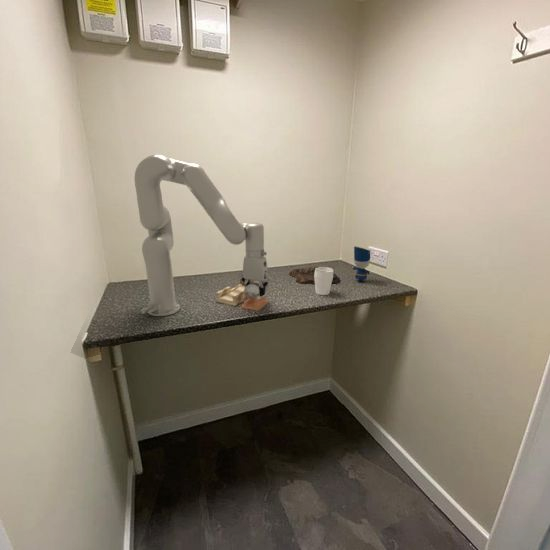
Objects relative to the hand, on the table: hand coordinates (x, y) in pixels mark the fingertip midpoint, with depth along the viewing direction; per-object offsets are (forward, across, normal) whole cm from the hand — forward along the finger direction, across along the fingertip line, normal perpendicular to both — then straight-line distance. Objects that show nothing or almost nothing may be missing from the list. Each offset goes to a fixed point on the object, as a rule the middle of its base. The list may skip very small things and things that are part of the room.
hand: (255, 293), depth 123 cm
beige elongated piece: (+5, +12, -6) cm, 14 cm away
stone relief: (+6, -11, -50) cm, 51 cm away
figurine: (+6, -35, -54) cm, 65 cm away
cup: (+6, -22, -28) cm, 36 cm away
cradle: (+5, 0, 0) cm, 5 cm away
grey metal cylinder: (+1, 0, -1) cm, 1 cm away
